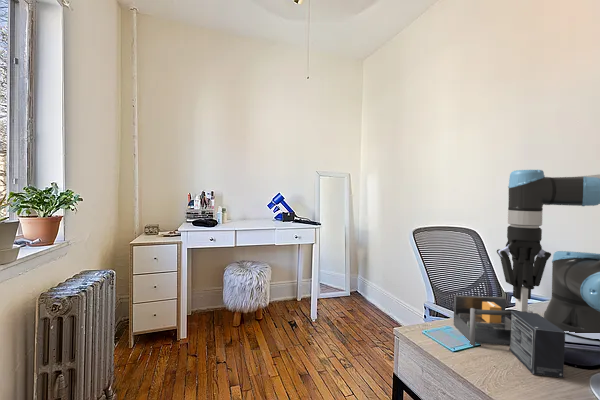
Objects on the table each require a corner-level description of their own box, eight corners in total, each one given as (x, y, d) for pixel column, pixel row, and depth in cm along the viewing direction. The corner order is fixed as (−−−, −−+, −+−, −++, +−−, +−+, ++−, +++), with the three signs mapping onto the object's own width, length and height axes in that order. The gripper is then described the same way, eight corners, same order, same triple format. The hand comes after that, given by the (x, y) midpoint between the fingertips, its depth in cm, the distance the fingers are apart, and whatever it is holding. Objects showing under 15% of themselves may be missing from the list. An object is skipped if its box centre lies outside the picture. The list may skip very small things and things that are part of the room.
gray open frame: (529, 347, 76) (530, 310, 75) (532, 349, 74) (533, 312, 74) (468, 343, 77) (469, 308, 77) (470, 346, 76) (471, 309, 76)
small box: (566, 379, 63) (568, 332, 62) (532, 375, 64) (533, 329, 64) (537, 352, 73) (538, 312, 73) (508, 349, 74) (509, 309, 74)
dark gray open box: (502, 327, 87) (503, 297, 86) (525, 345, 76) (526, 311, 76) (452, 324, 88) (453, 295, 88) (469, 342, 78) (469, 309, 77)
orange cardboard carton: (492, 318, 83) (493, 301, 83) (501, 324, 79) (501, 306, 79) (481, 318, 83) (482, 300, 83) (489, 324, 79) (489, 306, 79)
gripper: (539, 224, 82) (536, 306, 83) (491, 223, 84) (489, 303, 84) (560, 228, 75) (557, 317, 76) (507, 227, 76) (504, 314, 77)
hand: (521, 310), depth 80 cm, fingers closed
